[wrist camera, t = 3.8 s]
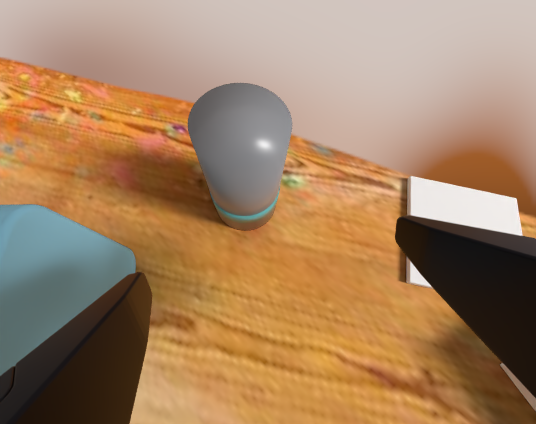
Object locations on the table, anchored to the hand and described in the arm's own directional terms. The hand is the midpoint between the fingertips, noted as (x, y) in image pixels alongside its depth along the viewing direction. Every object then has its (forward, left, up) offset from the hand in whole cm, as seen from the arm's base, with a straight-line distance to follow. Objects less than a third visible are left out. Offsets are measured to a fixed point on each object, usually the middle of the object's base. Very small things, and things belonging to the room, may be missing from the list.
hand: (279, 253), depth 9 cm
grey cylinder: (+2, +8, -13) cm, 15 cm away
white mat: (+18, -5, -13) cm, 23 cm away
